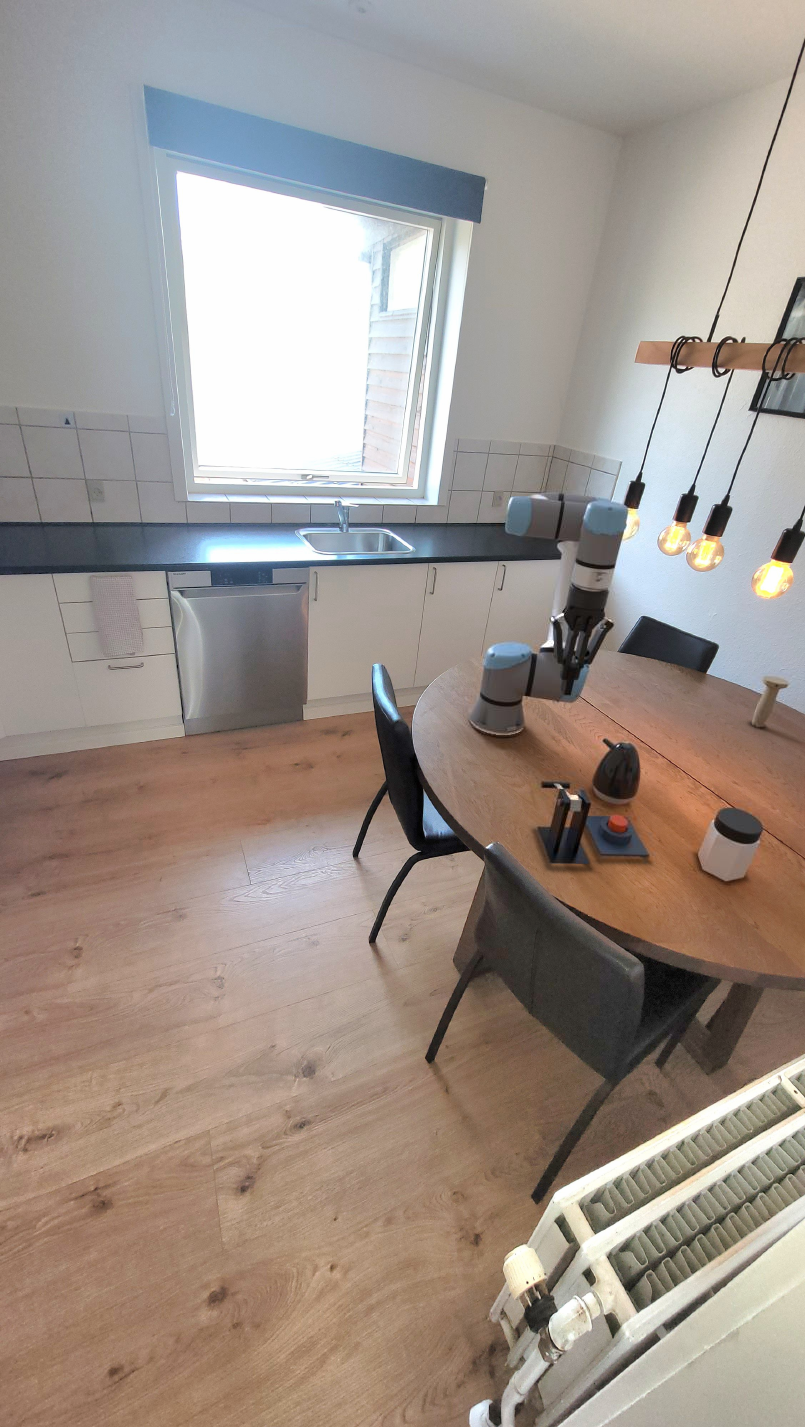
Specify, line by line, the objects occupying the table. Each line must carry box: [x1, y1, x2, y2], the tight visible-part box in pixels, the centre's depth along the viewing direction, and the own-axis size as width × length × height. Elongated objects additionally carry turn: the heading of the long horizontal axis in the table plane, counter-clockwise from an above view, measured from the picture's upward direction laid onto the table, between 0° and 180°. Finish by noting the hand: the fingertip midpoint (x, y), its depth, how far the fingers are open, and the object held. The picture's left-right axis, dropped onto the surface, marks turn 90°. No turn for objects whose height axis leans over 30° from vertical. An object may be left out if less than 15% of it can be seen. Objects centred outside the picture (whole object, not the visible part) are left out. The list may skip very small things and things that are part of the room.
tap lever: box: [540, 780, 582, 812], centre depth 120 cm, size 13×6×2 cm, turn 2°
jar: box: [697, 807, 764, 882], centre depth 117 cm, size 9×8×12 cm
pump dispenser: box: [591, 737, 641, 806], centre depth 134 cm, size 10×10×15 cm
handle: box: [751, 675, 790, 728], centre depth 171 cm, size 5×6×15 cm
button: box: [608, 814, 628, 833], centre depth 122 cm, size 4×4×2 cm
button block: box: [585, 815, 650, 857], centre depth 123 cm, size 12×10×4 cm
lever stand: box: [536, 788, 592, 865], centre depth 117 cm, size 11×8×14 cm
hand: (565, 692), depth 126 cm, fingers closed
